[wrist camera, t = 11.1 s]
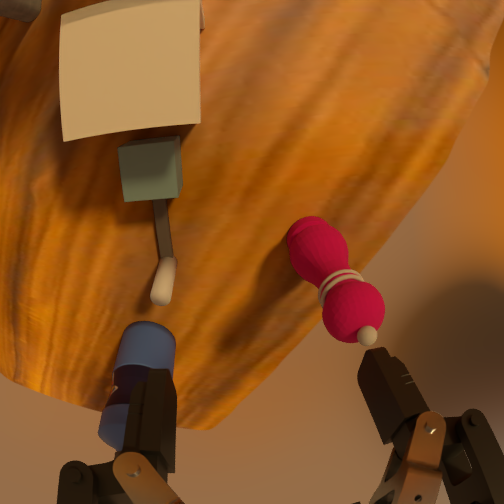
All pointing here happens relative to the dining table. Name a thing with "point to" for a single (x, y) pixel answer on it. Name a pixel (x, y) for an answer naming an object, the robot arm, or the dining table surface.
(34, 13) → the hip flask
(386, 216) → the dining table surface
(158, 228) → the grey block with handle
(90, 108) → the shelf
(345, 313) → the pepper mill
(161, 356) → the water bottle
